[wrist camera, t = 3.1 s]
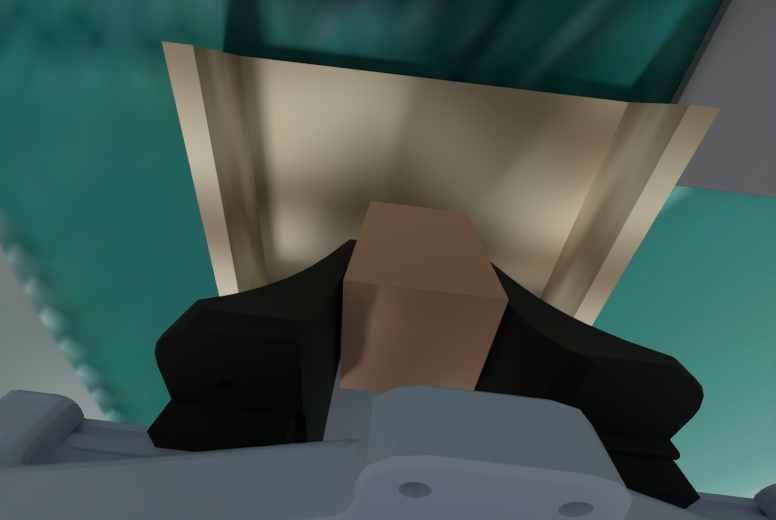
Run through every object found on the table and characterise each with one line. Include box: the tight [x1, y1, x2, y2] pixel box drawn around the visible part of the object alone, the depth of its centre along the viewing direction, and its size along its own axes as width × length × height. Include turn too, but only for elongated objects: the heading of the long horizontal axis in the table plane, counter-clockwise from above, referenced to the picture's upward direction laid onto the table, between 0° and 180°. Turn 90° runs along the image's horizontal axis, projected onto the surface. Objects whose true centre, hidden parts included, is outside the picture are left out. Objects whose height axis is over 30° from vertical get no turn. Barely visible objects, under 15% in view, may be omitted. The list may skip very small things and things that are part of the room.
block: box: [340, 201, 509, 393], centre depth 11 cm, size 4×4×6 cm
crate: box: [162, 42, 721, 326], centre depth 14 cm, size 13×18×4 cm
